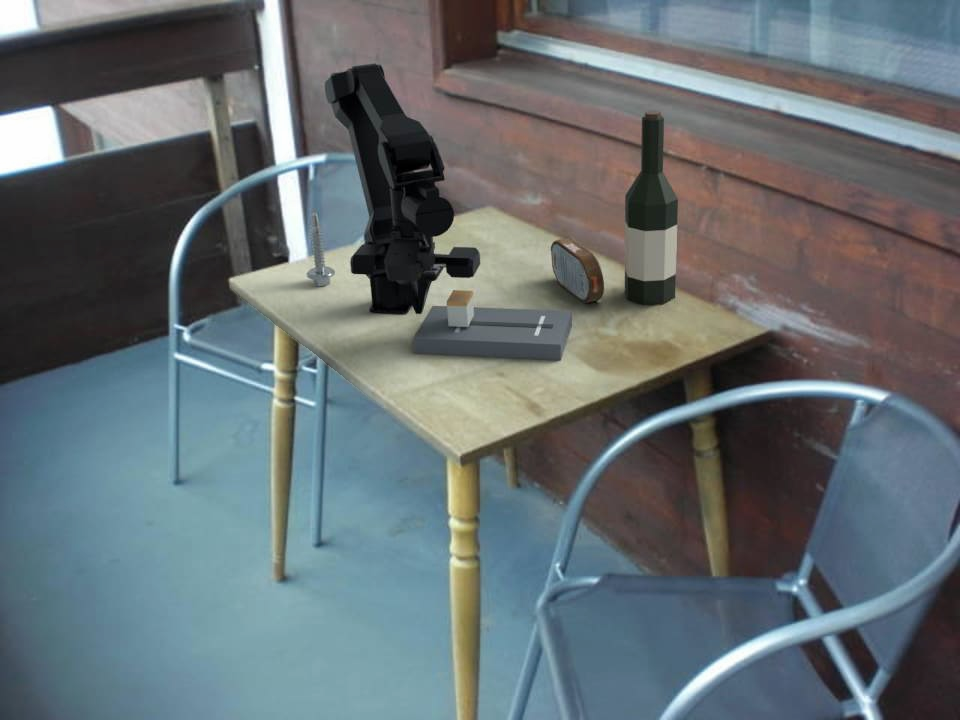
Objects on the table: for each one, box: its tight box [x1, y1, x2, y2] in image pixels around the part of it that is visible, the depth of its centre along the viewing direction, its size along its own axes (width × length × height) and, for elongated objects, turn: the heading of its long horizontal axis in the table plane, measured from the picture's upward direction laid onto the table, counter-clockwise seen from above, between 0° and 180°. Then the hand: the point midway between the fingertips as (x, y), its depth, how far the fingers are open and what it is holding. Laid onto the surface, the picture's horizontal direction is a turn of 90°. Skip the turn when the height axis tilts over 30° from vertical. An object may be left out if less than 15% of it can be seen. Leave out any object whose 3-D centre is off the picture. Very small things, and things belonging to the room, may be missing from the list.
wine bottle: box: [624, 109, 679, 306], centre depth 180 cm, size 8×8×30 cm
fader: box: [445, 289, 475, 327], centre depth 173 cm, size 3×4×4 cm
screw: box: [306, 211, 336, 288], centre depth 195 cm, size 13×5×5 cm
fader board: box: [412, 305, 573, 361], centre depth 174 cm, size 22×12×3 cm, turn 78°
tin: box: [550, 236, 605, 304], centre depth 187 cm, size 15×3×8 cm, turn 22°
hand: (419, 313), depth 175 cm, fingers closed
